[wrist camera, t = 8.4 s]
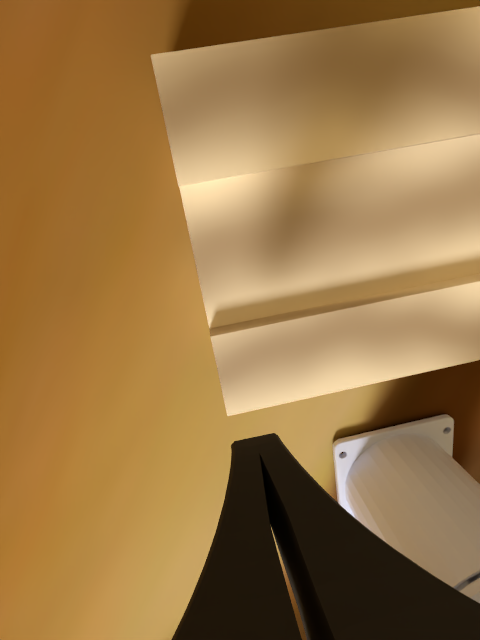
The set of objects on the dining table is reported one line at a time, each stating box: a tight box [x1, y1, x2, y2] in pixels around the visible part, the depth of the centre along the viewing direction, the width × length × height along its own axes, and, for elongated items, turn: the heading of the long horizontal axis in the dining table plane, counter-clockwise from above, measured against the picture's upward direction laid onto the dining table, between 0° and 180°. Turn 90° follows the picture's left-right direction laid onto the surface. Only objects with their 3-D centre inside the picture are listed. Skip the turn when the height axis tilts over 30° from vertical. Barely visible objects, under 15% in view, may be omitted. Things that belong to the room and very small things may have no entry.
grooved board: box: [151, 6, 480, 416], centre depth 16 cm, size 14×16×4 cm
